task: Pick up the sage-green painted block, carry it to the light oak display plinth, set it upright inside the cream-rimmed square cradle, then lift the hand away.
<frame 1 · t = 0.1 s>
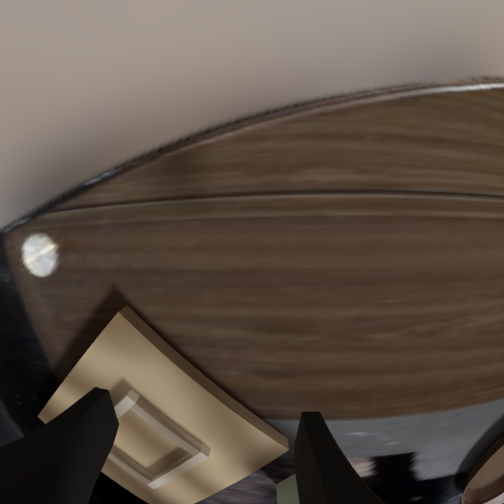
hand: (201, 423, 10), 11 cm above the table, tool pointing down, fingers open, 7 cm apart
display plinth: (149, 431, 22), on the table
saucer: (501, 455, 23), on the table
sage block: (307, 482, 23), on the table
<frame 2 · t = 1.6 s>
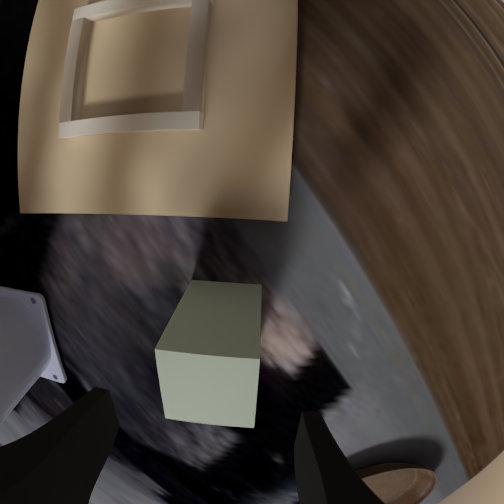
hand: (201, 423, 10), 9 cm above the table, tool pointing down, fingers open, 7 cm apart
display plinth: (144, 68, 14), on the table
saucer: (366, 486, 25), on the table
sage block: (225, 313, 19), on the table
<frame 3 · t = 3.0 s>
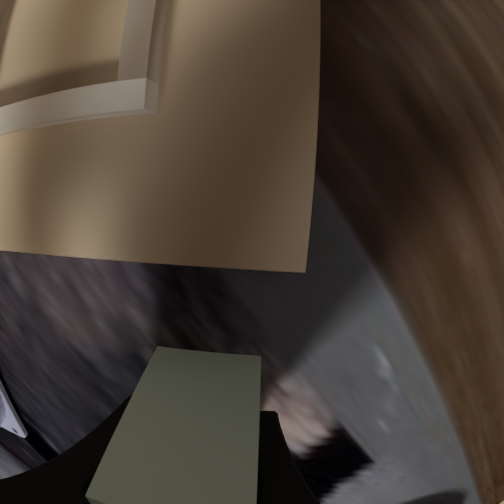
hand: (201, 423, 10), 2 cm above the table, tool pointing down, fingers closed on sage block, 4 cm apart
display plinth: (83, 30, 8), on the table
sage block: (209, 390, 12), on the table, touching gripper
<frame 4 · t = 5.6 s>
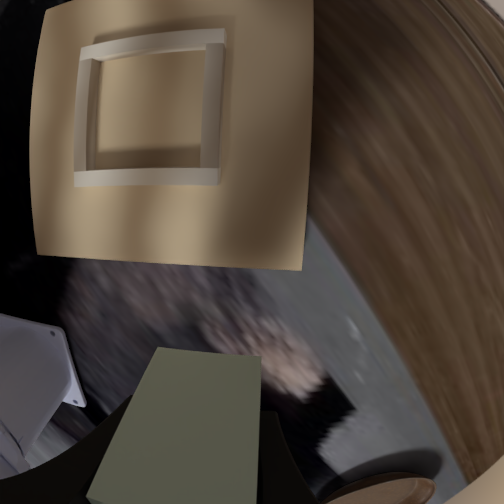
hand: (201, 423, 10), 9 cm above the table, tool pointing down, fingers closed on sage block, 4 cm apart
display plinth: (157, 112, 15), on the table
saucer: (369, 493, 26), on the table
sage block: (209, 390, 12), point 7 cm above the table, touching gripper
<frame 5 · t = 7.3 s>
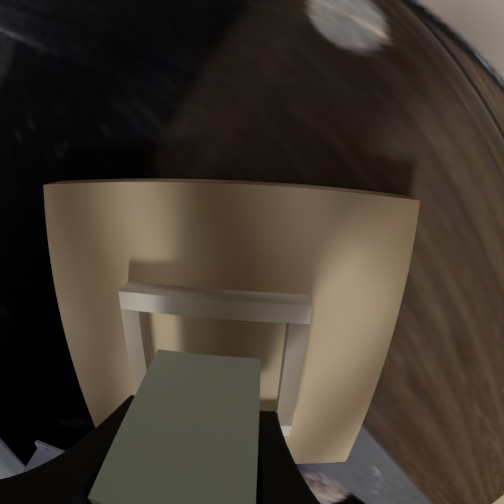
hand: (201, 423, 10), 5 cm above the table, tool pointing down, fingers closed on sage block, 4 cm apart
display plinth: (219, 345, 15), on the table
sage block: (209, 392, 12), point 3 cm above the table, touching gripper
when the fingers open (5 cm above the table, at t = 8.5 s): sage block drops 1 cm, resting on display plinth.
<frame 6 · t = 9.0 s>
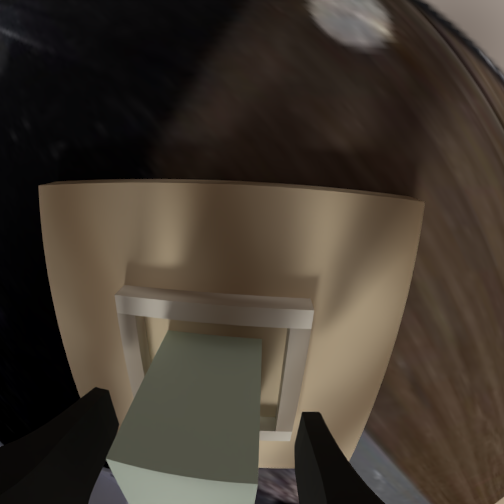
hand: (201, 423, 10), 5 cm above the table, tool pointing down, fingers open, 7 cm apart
display plinth: (218, 350, 15), on the table
sage block: (214, 371, 14), point 1 cm above the table, touching display plinth
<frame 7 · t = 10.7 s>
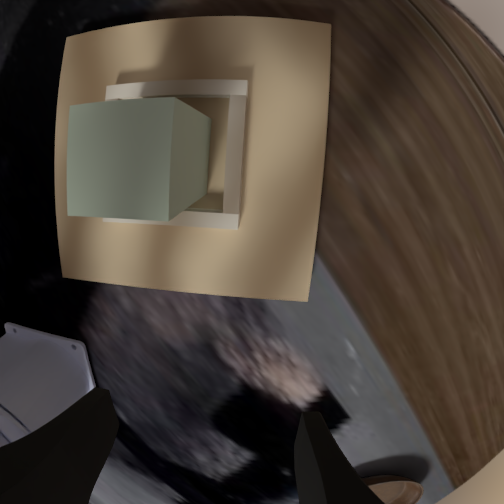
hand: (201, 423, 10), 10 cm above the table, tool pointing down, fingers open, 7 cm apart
display plinth: (179, 151, 17), on the table
saucer: (361, 494, 28), on the table
sage block: (172, 155, 16), point 1 cm above the table, touching display plinth
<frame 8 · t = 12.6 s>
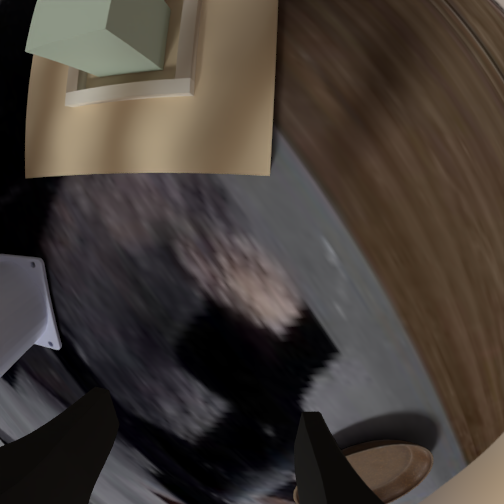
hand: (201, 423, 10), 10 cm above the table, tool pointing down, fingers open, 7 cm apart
display plinth: (143, 46, 15), on the table
saucer: (361, 467, 26), on the table
sage block: (134, 42, 14), point 1 cm above the table, touching display plinth
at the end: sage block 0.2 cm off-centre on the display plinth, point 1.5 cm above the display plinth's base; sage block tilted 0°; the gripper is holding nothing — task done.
